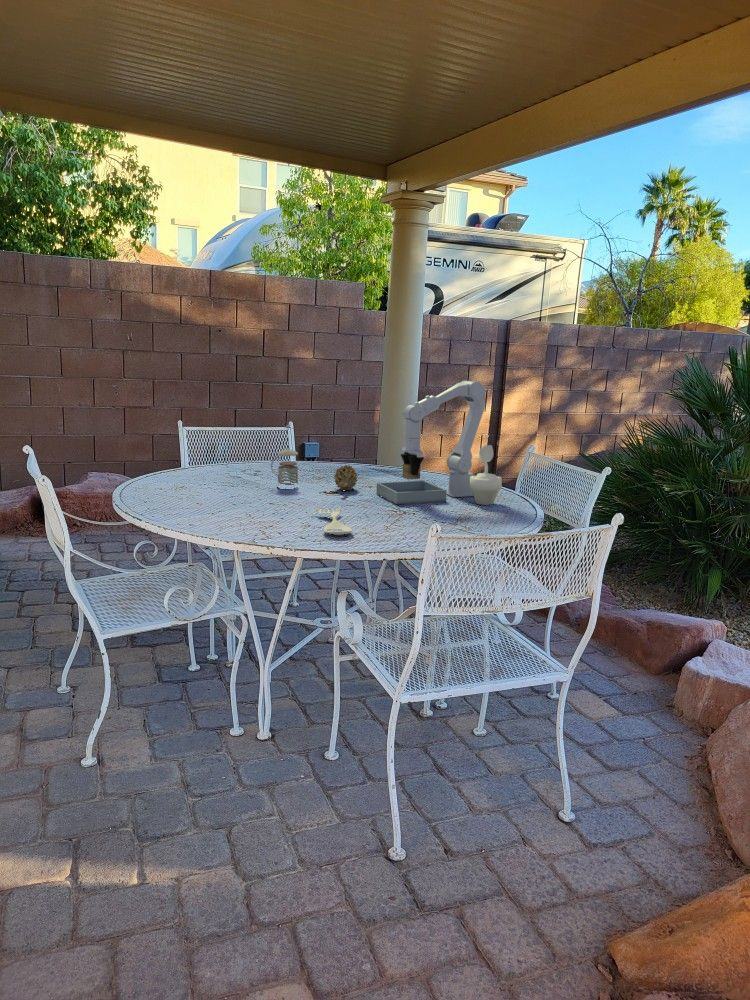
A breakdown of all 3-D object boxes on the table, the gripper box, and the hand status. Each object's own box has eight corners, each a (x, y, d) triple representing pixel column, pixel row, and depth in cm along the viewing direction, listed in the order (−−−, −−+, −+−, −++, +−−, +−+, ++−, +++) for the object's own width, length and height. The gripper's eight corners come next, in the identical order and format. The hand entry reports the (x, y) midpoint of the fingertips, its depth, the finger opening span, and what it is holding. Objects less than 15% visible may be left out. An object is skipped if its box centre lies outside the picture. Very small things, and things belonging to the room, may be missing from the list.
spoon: (340, 514, 249) (340, 504, 248) (355, 539, 218) (355, 528, 218) (314, 515, 248) (314, 505, 247) (325, 540, 217) (325, 528, 216)
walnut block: (414, 476, 279) (414, 463, 277) (420, 478, 274) (420, 465, 273) (402, 477, 277) (402, 464, 276) (407, 479, 272) (408, 466, 271)
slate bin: (423, 491, 290) (423, 480, 289) (446, 501, 272) (446, 490, 271) (376, 494, 283) (376, 482, 282) (396, 505, 265) (396, 492, 264)
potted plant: (500, 507, 264) (504, 438, 258) (467, 505, 266) (470, 437, 261) (501, 500, 276) (505, 434, 271) (470, 498, 278) (473, 433, 273)
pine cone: (334, 486, 297) (334, 462, 295) (357, 486, 297) (358, 462, 295) (332, 497, 276) (332, 471, 273) (357, 497, 276) (357, 471, 274)
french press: (302, 489, 290) (302, 426, 285) (273, 490, 287) (272, 426, 282) (298, 484, 299) (298, 423, 294) (269, 485, 296) (269, 423, 291)
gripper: (395, 435, 277) (394, 470, 280) (410, 440, 264) (409, 477, 267) (412, 435, 280) (411, 470, 283) (428, 439, 267) (427, 476, 270)
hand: (411, 473), depth 275 cm, fingers closed on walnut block, 5 cm apart
